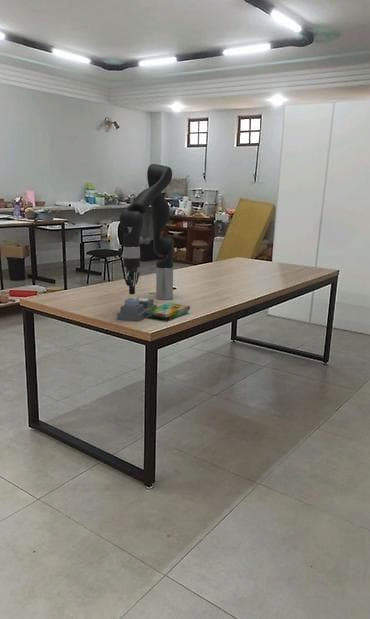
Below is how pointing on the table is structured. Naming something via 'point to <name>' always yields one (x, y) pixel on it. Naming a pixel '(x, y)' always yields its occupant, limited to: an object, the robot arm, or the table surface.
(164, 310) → the puzzle game
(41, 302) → the table surface
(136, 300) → the blue key
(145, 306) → the grey plastic block
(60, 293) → the table surface
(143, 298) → the white key
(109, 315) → the table surface
